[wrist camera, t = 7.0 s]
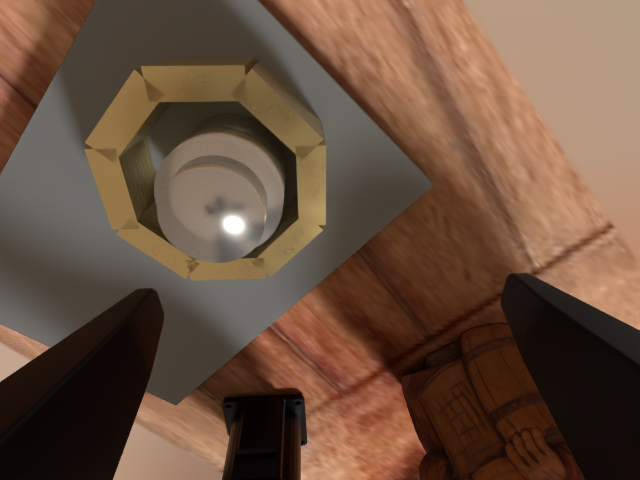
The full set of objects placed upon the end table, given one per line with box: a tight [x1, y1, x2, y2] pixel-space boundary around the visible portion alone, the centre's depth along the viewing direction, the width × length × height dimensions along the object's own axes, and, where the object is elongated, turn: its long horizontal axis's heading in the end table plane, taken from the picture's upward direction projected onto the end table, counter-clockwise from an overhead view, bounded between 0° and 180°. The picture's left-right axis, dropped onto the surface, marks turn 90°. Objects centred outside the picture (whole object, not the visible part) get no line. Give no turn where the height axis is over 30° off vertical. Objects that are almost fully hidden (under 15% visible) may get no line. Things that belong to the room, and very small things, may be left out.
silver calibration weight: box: [154, 114, 287, 263], centre depth 16 cm, size 5×5×6 cm
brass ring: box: [84, 57, 326, 280], centre depth 17 cm, size 9×9×3 cm
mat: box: [0, 0, 434, 405], centre depth 21 cm, size 24×16×2 cm, turn 136°
